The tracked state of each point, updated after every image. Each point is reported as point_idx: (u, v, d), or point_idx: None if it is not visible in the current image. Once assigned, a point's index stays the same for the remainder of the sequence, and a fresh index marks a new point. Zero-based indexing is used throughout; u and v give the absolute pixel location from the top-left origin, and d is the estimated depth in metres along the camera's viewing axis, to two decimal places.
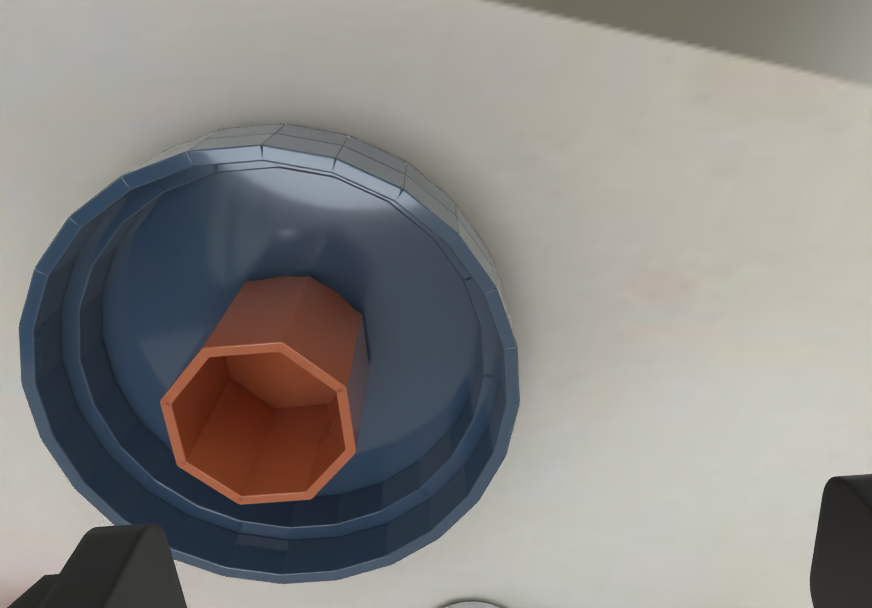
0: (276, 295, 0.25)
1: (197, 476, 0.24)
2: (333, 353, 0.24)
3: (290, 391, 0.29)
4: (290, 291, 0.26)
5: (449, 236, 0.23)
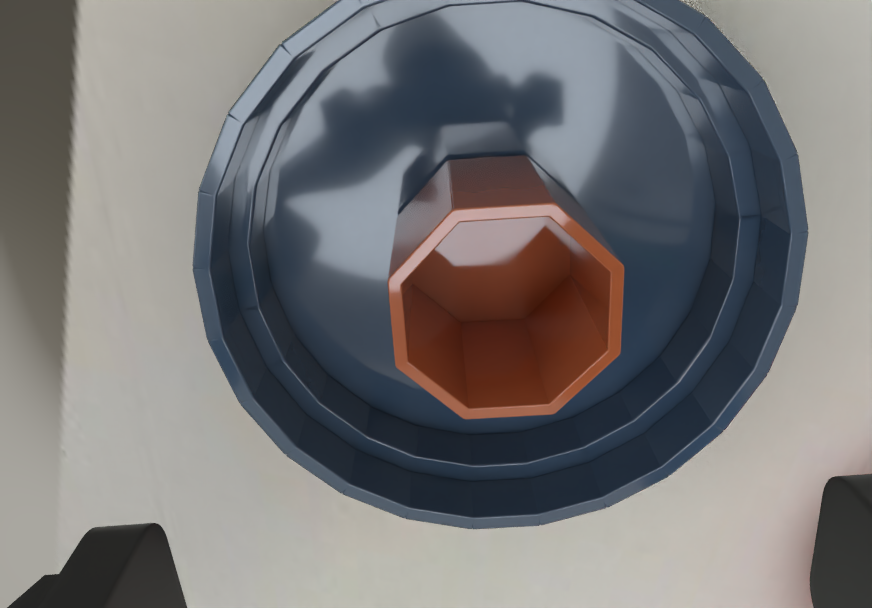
0: None
1: (571, 395, 0.19)
2: (432, 214, 0.19)
3: (548, 253, 0.24)
4: None
5: (283, 56, 0.18)
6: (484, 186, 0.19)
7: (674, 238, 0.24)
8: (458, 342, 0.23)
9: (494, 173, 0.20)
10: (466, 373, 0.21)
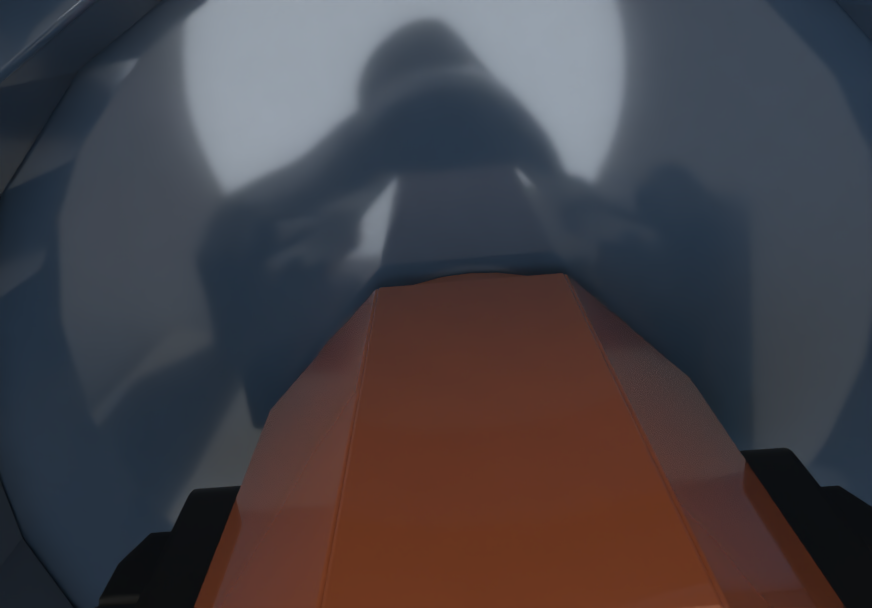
0: None
1: None
2: (285, 545, 0.06)
3: None
4: None
5: None
6: (452, 439, 0.06)
7: None
8: None
9: (486, 358, 0.07)
10: None
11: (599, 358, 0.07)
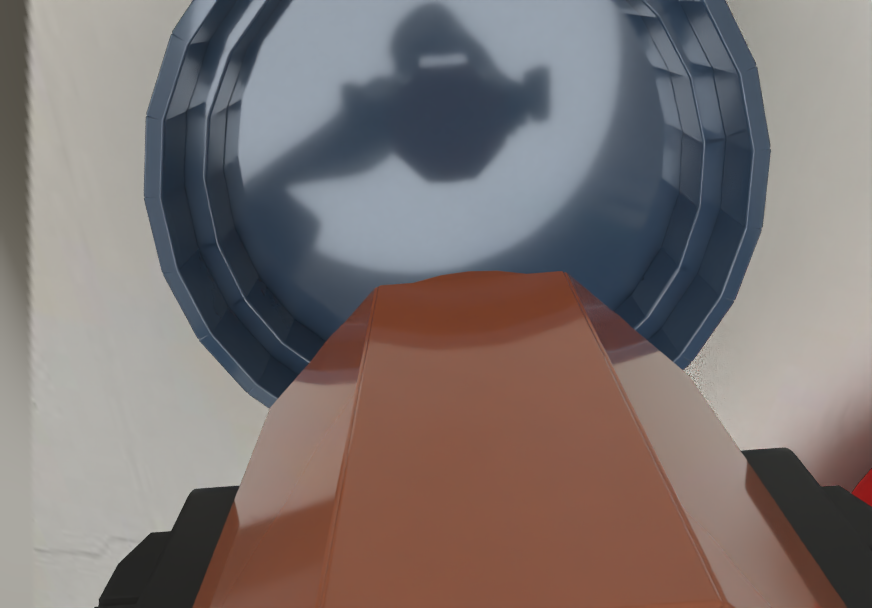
0: None
1: None
2: (285, 541, 0.06)
3: None
4: None
5: None
6: (452, 436, 0.06)
7: (642, 170, 0.23)
8: None
9: (485, 355, 0.07)
10: None
11: (598, 355, 0.07)
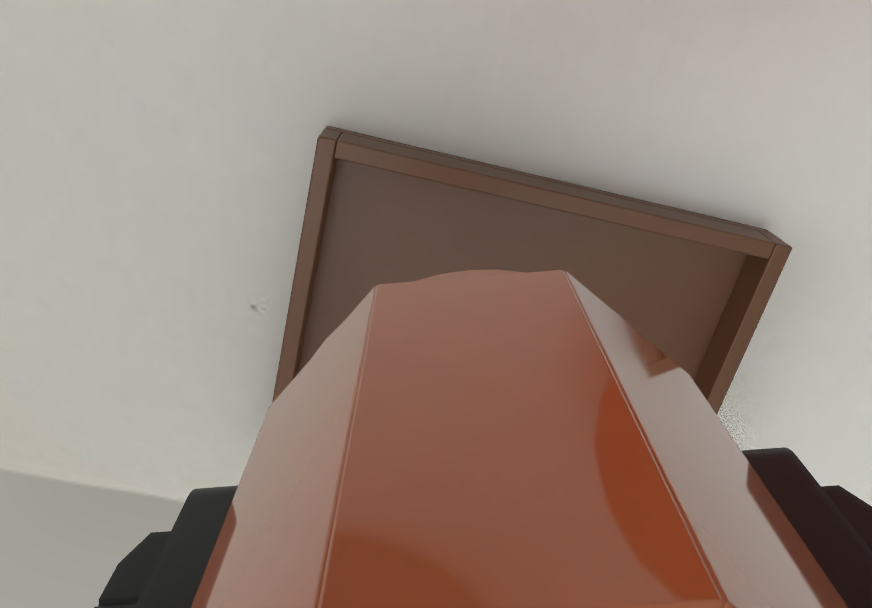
0: None
1: None
2: (283, 540, 0.06)
3: None
4: None
5: None
6: (451, 434, 0.06)
7: None
8: None
9: (485, 354, 0.07)
10: None
11: (598, 354, 0.07)
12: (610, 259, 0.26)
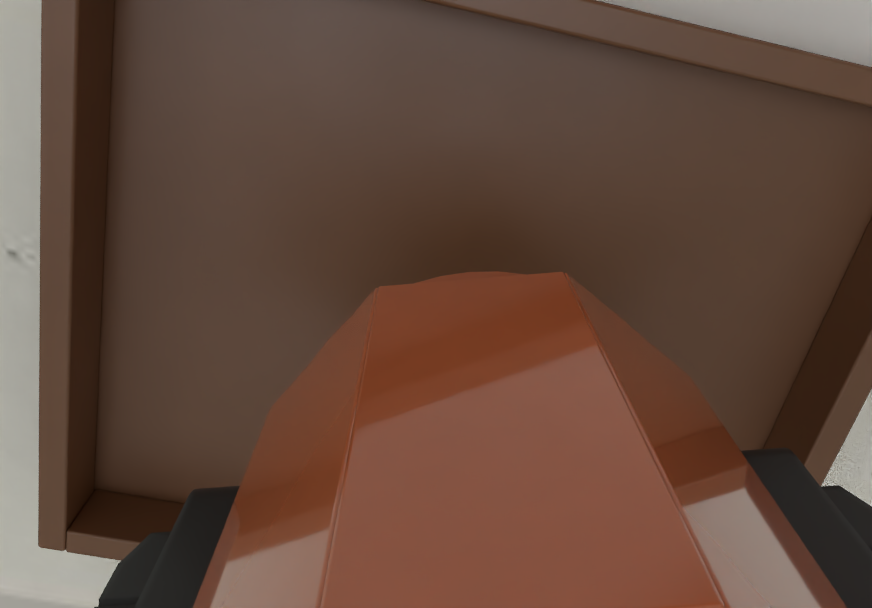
0: None
1: None
2: (285, 544, 0.06)
3: None
4: None
5: None
6: (452, 438, 0.06)
7: None
8: None
9: (486, 356, 0.07)
10: None
11: (599, 357, 0.07)
12: (652, 149, 0.14)
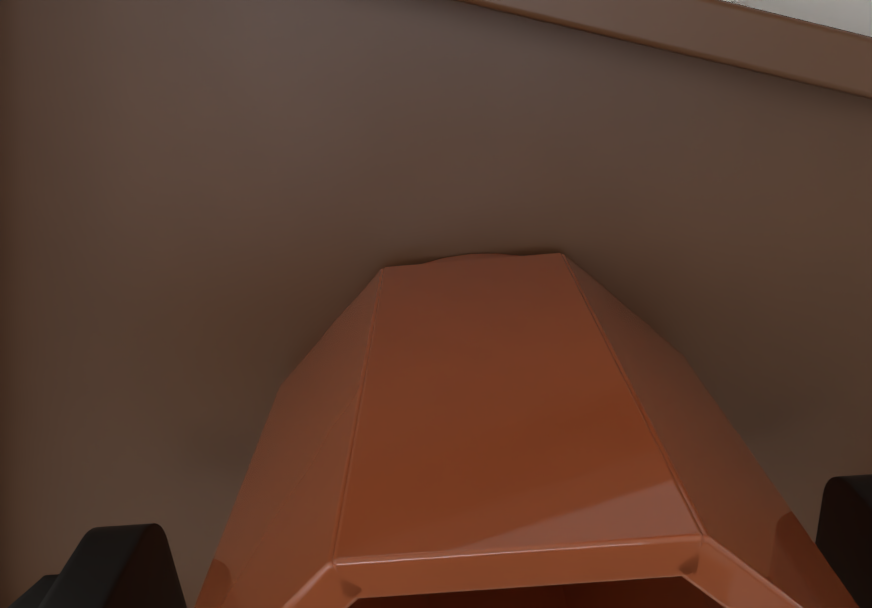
0: None
1: None
2: (300, 495, 0.06)
3: None
4: None
5: None
6: (456, 398, 0.06)
7: None
8: None
9: (487, 328, 0.08)
10: None
11: (594, 328, 0.08)
12: (747, 203, 0.10)
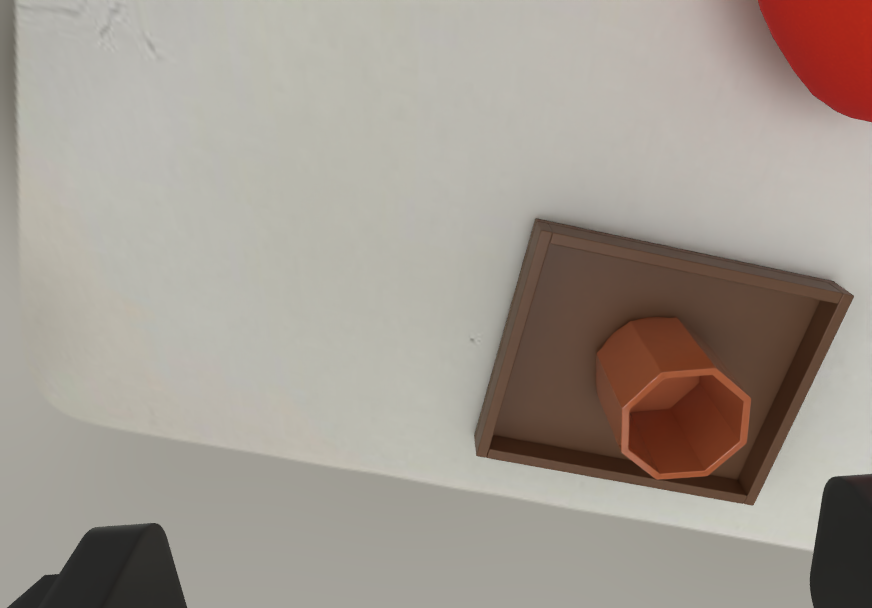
0: (603, 384, 0.37)
1: (718, 465, 0.34)
2: (641, 368, 0.34)
3: None
4: (602, 374, 0.37)
5: None
6: (668, 351, 0.34)
7: None
8: (636, 428, 0.38)
9: (667, 337, 0.35)
10: (649, 449, 0.36)
11: (691, 337, 0.35)
12: (725, 303, 0.38)
